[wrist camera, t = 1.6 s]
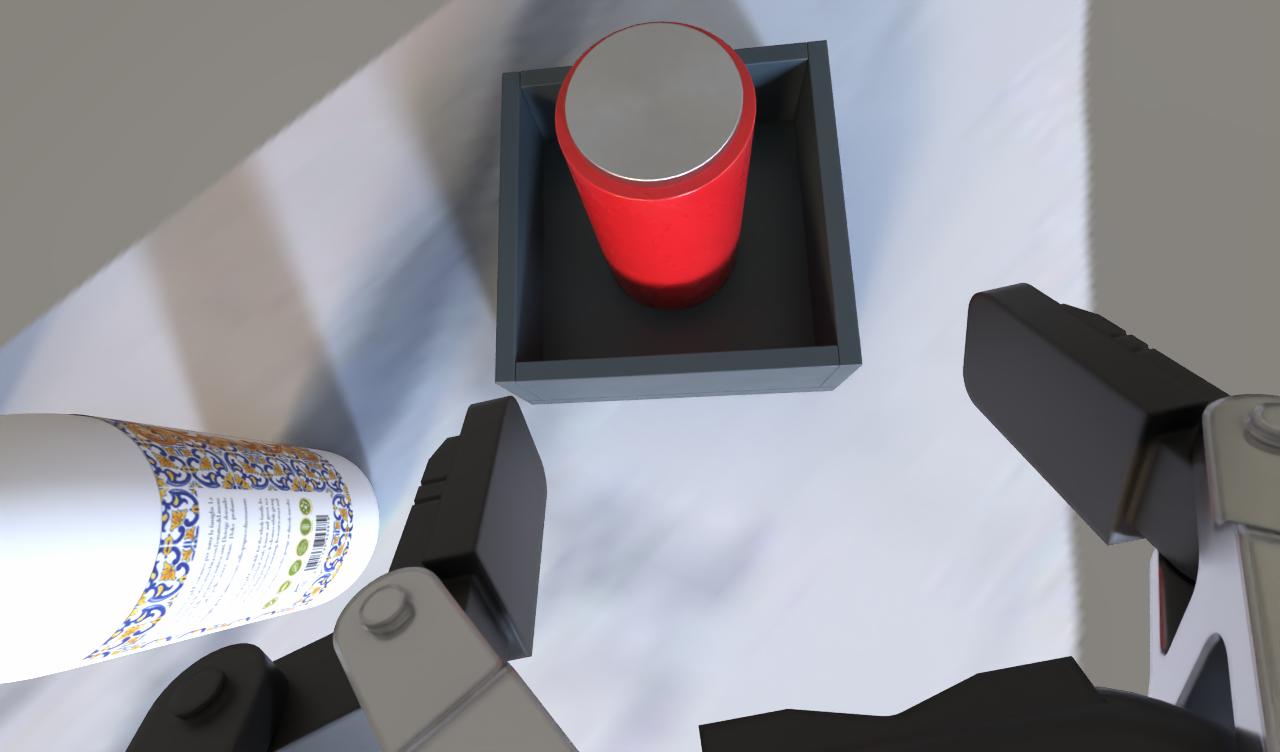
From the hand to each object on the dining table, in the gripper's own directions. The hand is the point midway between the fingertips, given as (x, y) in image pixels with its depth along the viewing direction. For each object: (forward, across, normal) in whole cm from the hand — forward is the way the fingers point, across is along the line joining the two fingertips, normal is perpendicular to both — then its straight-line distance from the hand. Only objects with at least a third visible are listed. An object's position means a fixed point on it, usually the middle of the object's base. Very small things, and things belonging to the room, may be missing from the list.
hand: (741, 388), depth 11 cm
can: (+18, 0, +4) cm, 18 cm away
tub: (+18, 0, +4) cm, 19 cm away
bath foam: (+12, +19, +11) cm, 25 cm away
